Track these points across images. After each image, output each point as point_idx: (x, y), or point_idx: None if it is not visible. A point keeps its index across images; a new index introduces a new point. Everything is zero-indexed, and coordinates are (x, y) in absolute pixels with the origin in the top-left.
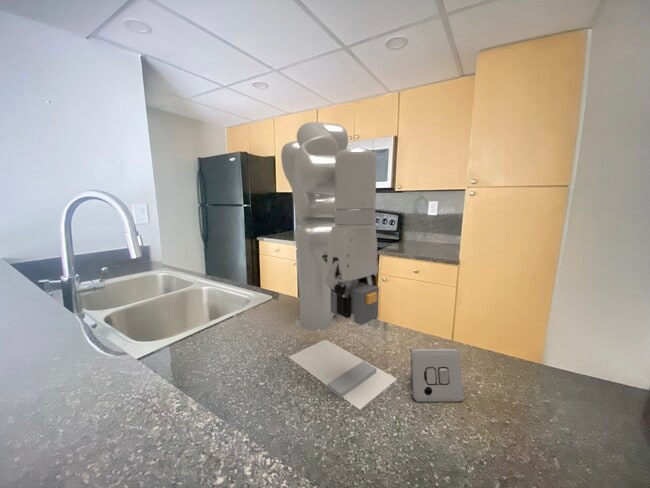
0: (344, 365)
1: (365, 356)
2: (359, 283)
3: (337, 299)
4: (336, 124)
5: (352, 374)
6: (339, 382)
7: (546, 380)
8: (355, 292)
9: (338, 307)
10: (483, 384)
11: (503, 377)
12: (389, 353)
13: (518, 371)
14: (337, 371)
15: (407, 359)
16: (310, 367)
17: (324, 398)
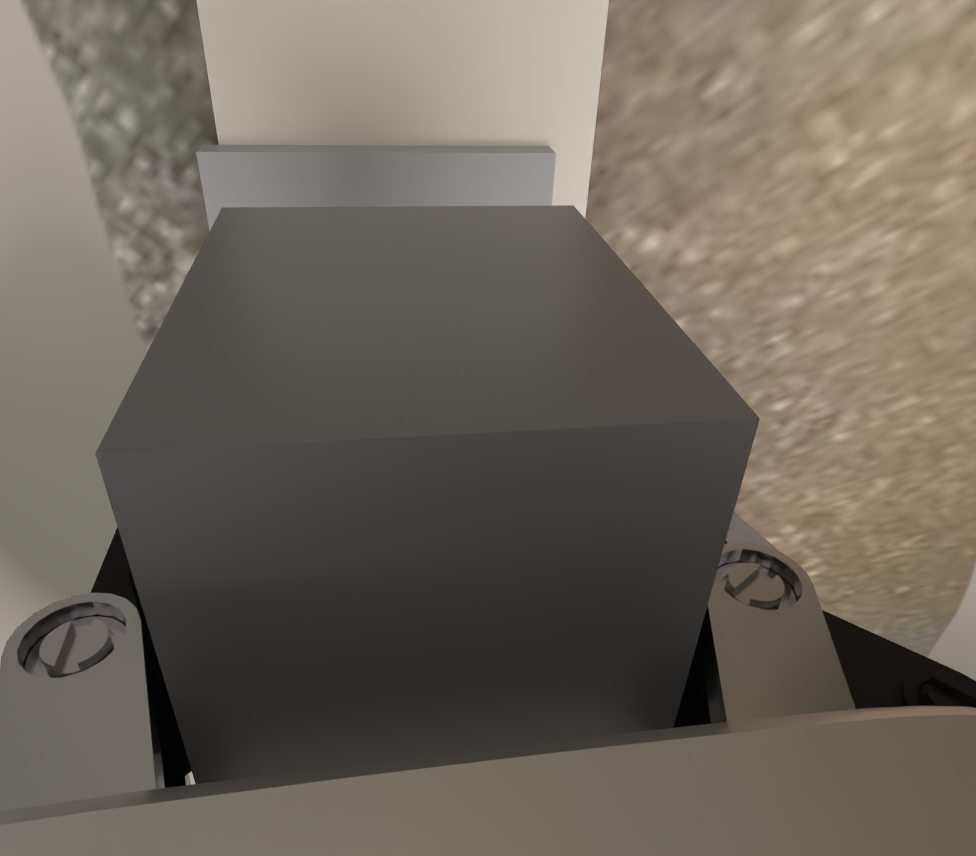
0: (454, 50)
1: (685, 41)
2: (597, 735)
3: (98, 587)
4: None
5: (392, 199)
6: (271, 196)
7: (920, 637)
8: None
9: None
10: (786, 543)
11: (871, 566)
12: (810, 145)
13: (938, 581)
14: (366, 64)
15: (802, 261)
16: None
17: (171, 151)
